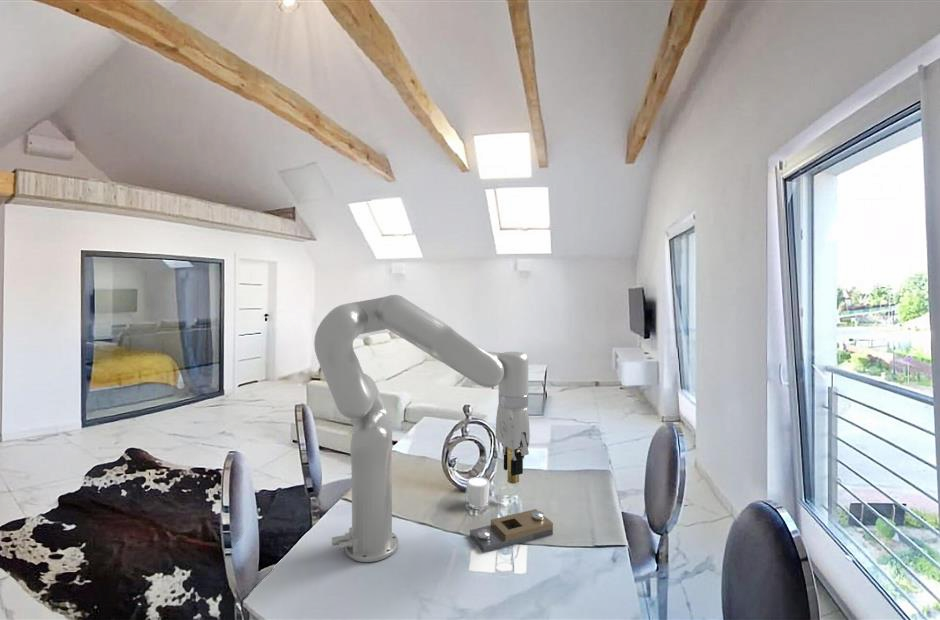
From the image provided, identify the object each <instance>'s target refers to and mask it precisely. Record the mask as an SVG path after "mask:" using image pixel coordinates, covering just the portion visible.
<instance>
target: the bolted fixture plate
mask: <svg viewBox="0 0 940 620" xmlns="http://www.w3.org/2000/svg"><path fill="white" fill-rule="evenodd" d="M553 531H554V522H553V521H551V520H550V519H549V518H548V517H546V516H545V513H544V512H543V511H541V510H538V509H536V508H535V509H531V510H526V511H522V512H517V513H514V514H509V515H504V516H501V517H497V518H496V517H495V518H492V519H490V525H486V526H481V527H477V528H473V529H469V537H470V538H471V539H472V540H473V542H474V543H475V544H476V545H477V547H478V548H479V549H480V550H481V552H483V554H484V553H488V552H492V551H496V550H500V549H503V548H508V547H510V546H513V545H518V544H522V543H526V542H529V541H533V540H537V539H540V538H544V537H549V536H551V535H554V533H553Z"/></svg>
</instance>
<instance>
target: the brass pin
mask: <svg viewBox="0 0 940 620" xmlns="http://www.w3.org/2000/svg"><path fill="white" fill-rule="evenodd" d="M519 451H520V450H516V453H517V452H519ZM511 460H512V450H511V449H509V448H508V447H507V470H506V471H507V472H506V473H507V474H506V477H507V479H506V481H507V483H509V484H512V485H513V484H515V485H516V484H518V483H519V482H520V474H519V475H515V476H512V475H511Z"/></svg>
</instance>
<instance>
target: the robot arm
mask: <svg viewBox="0 0 940 620" xmlns="http://www.w3.org/2000/svg"><path fill="white" fill-rule="evenodd" d="M385 330H388V331H390V332H391V333H393V334H394V335H396V336H398V337H400V338H401V339H403V340H405V341H407V342H408V343H410V344H412V345H413V346H415V347H417V348H418V349H420V350H421V351H423V352H424V353H426V354H428V355H429V356H431V357H432V358H433V359H435V360H437V361H440V362H441V363H443V364H445V365H446V366H447V367H449V368H451V369H452V370H454V371H456V372H457V373H458V374H460V375H462V376H463V377H464V378H467V379H469V380H470V381H472V382H473V383H474V384H476V385H478V386H481V387H483V388H494V387H496V386H498V404H497V410H496V417H495V418H496V419H495V421H496V422H495V439H496V441H498V442H499V443H500V444H501V446H502V455H503V470H504V471H507V447H508V448H509V449H511V450H512V460H511V475H512V476H515V475H519V476H520V475H522V474H523V472H524V468H523V467H524V466H523V465H524V459H525V456H527V455H529V454H530V453H529V451H530V450H529V447H530V441H531V440H530V438H531V435H530V419H529V418H530V417H529V416H530V415H529V410H528V408H529V356H528V355H527V354H526V353H524V352H523V351H521V352H520V351H506V352H504V351H503V352H494V351H487V350H486V351H485V350H483V349H482V348H480V347H479V346H477V345H476V344H474V343H473V342H471V341H469V340H468V339H466V338H465V337H463V336H462V335H460V334H459V333H458V332H457V331H456V330H455V329H453V328H452V327H451V326H450V325H448V324H447V323H445V322H444V321H442V320H440V319H439V318H437V317H435V316H434V315H432V314H430V313H429V312H428V311H426V310H424V309H422V308H421V307H419V306H418V305H416V304H415V303H414V302H411V301H409V300H408V299H407V298H405V297H403V296H401V295H399V294H390V295H386V296H382V297H377V298H371V299H367V300H360V301H355V302H348V303H345V304H340V305H338V306H335V307H334V308H333V309H332V310H330V311H329V312H328V313H327V314H326V316H325V317H324V318H323V319H322V320H321V322H320V323H319V325H318V327H317V329H316V331H315V335H314V343H313V344H314V345H313V346H314V352H315V356H316V359H317V361H318V364H319V366H320V369H321V371H322V373H323V376H324V379H325V382H326V384H327V386H328V388H329V391H330V394H331V395H332V396H331V397H332V398H333V401H334V404H335V406H336V409H337V410H338V412H339V413H340V414H341V415H342V416H343V417H345V418H346V419H349V420H350V422H351V425H352V427H353V432H352V434H351V438H350V451H349V452H350V465H351V469H350V470H351V527H349V528H348V532H345V533H344V534H343V535H336V536H332V537H331V546H332V547H335V546H338V550H343V549H345V553H346V556H347V557H348V558H350V559H352V560H353V561H357V562H361V563H373V562H378V561H382V560H384V559H387V558H389V557H390V556H392V555H393V554H394V553H396V551H397V549H398V546H399V538H398V535H396V534H395V533H394V532H392V531H393V482H392V480H393V477H392V476H393V472H392V470H393V467H392V466H393V464H392V463H393V424H392V420H391V417H390V415H389V412H388V410H387V408H386V405H385V403H384V401H383V399H382V396H381V394H380V392H379V389H378V387H377V384H376V383H375V381H374V379H373V378H372V377H371V376H369V375H368V374H366V373H364V371H363V368H362V366H361V364H360V362H359V361H360V360H359V359H358V357H357V356H358V355H356V352H355V350H354V346H353V344H354V341H355V339H357V338H358V337H359V336H360V335H364V334H369V333H374V332H380V331H385ZM516 450H519V452H517V453H516Z"/></svg>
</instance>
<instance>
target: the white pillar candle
mask: <svg viewBox="0 0 940 620" xmlns="http://www.w3.org/2000/svg"><path fill="white" fill-rule="evenodd" d="M490 485H491V483H490V480H489V479H487V478H485V477H482V476H481V477H480V476H474V477H470V478H468V479H467V480H466V492H467V493H466V494H467V502H469V503H470V504H472V505H474V506H476V507H483V506H486V505H487V506H488V504H489V502H488V501H489V493H490V492H489V491H490ZM487 503H488V504H487Z"/></svg>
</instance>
